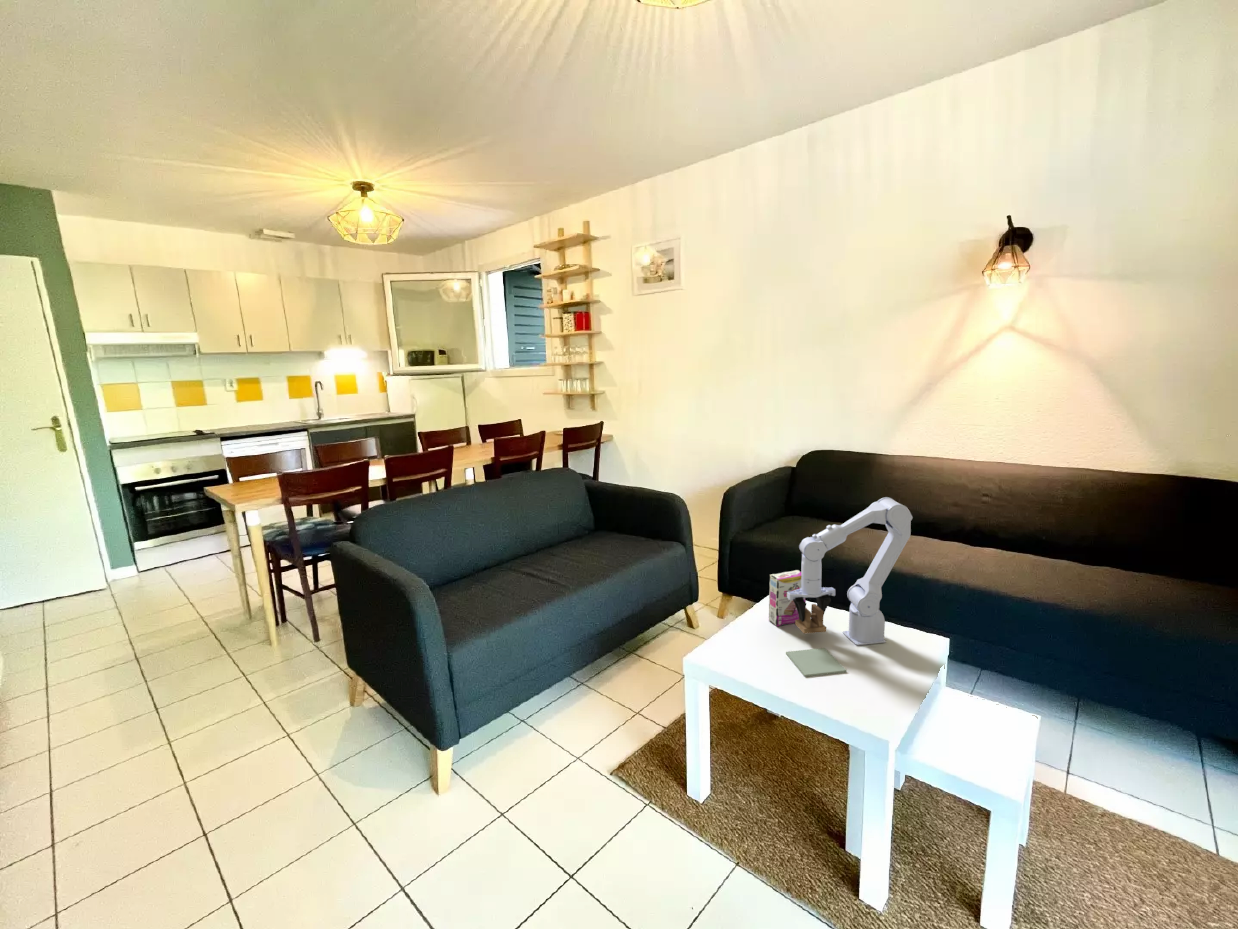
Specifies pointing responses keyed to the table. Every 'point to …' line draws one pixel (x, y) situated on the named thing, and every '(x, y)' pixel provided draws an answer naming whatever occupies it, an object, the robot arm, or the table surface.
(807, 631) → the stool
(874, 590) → the robot arm
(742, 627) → the table surface
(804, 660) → the mat
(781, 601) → the candy bar box
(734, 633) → the table surface
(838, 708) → the table surface
